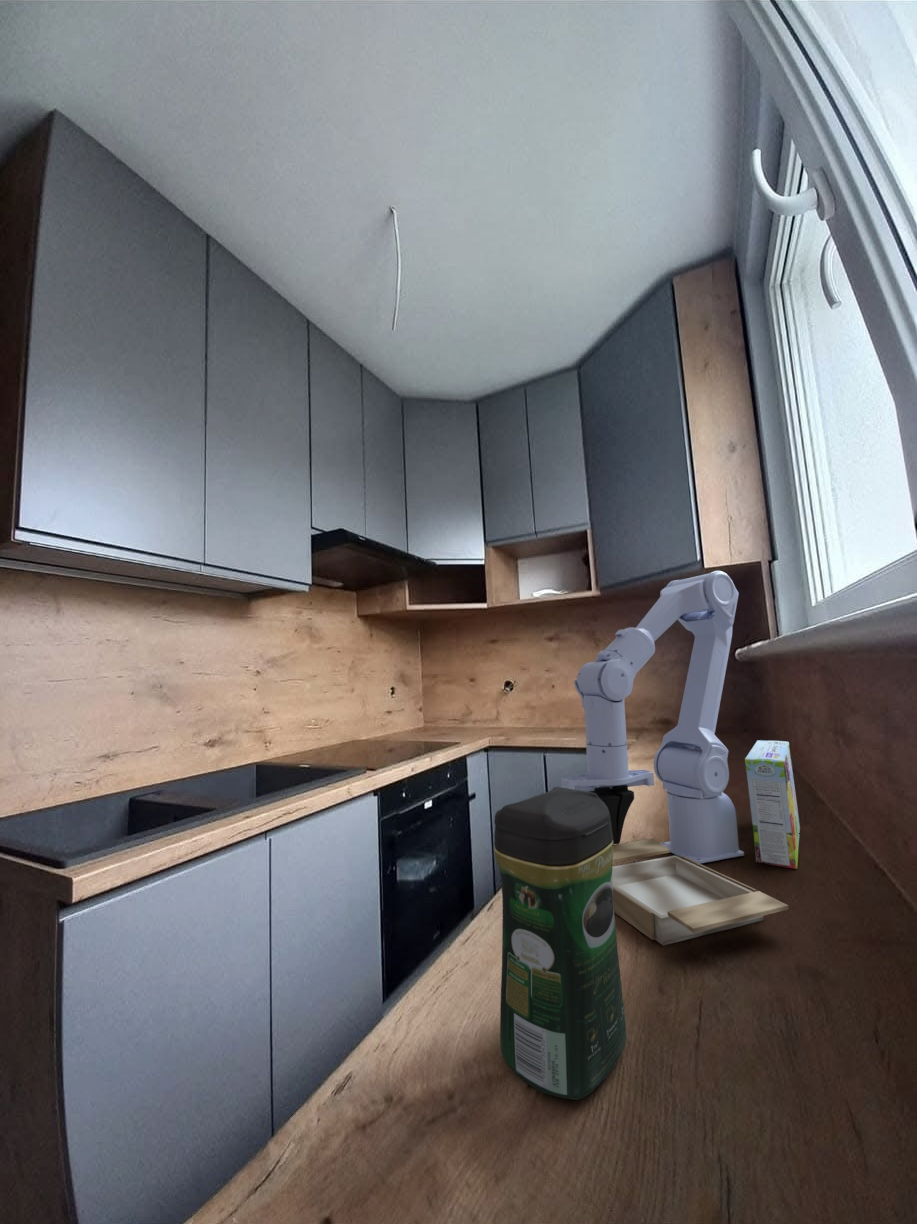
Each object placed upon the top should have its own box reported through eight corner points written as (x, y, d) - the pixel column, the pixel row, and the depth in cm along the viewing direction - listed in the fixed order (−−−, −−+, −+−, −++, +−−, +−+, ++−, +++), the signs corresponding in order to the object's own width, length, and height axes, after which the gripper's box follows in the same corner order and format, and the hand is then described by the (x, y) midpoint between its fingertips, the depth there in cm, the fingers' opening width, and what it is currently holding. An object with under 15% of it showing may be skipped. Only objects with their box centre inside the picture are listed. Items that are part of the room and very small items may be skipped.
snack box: (763, 824, 88) (755, 739, 89) (801, 829, 84) (792, 741, 86) (752, 863, 70) (743, 756, 72) (799, 871, 67) (788, 759, 69)
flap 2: (758, 890, 54) (788, 905, 51) (759, 894, 54) (788, 909, 51) (667, 911, 50) (693, 928, 47) (667, 915, 50) (693, 932, 47)
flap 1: (670, 852, 67) (652, 841, 70) (670, 849, 67) (652, 838, 70) (591, 866, 63) (576, 853, 66) (591, 863, 63) (576, 850, 66)
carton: (679, 874, 67) (677, 853, 67) (766, 919, 54) (764, 893, 55) (586, 893, 62) (585, 870, 62) (659, 946, 50) (657, 917, 50)
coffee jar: (551, 996, 42) (542, 776, 45) (640, 1040, 37) (626, 789, 39) (480, 1062, 35) (474, 797, 38) (578, 1130, 30) (565, 816, 32)
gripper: (629, 737, 77) (634, 827, 75) (548, 743, 72) (552, 839, 70) (661, 743, 70) (668, 841, 68) (574, 750, 65) (579, 856, 64)
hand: (611, 841), depth 69 cm, fingers closed
